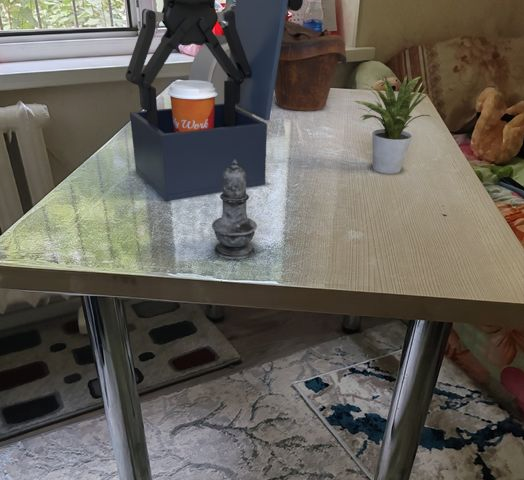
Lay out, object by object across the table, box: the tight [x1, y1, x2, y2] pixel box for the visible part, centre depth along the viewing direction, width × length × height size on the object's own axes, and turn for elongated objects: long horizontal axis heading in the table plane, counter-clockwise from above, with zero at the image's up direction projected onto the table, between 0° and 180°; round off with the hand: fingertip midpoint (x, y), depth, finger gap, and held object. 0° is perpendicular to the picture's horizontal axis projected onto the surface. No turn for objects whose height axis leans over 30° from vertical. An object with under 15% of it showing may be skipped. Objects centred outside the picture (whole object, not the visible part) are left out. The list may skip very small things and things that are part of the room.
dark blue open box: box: [129, 103, 268, 202], centre depth 92 cm, size 18×15×10 cm
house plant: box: [354, 73, 433, 175], centre depth 98 cm, size 14×14×16 cm
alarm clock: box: [188, 34, 253, 116], centre depth 111 cm, size 16×10×18 cm, turn 146°
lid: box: [227, 0, 304, 122], centre depth 88 cm, size 19×15×6 cm
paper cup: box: [167, 79, 218, 133], centre depth 89 cm, size 8×8×14 cm
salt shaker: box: [211, 159, 258, 260], centre depth 69 cm, size 6×6×12 cm
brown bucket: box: [274, 20, 348, 112], centre depth 134 cm, size 18×20×18 cm
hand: (192, 128), depth 89 cm, fingers open, 13 cm apart
